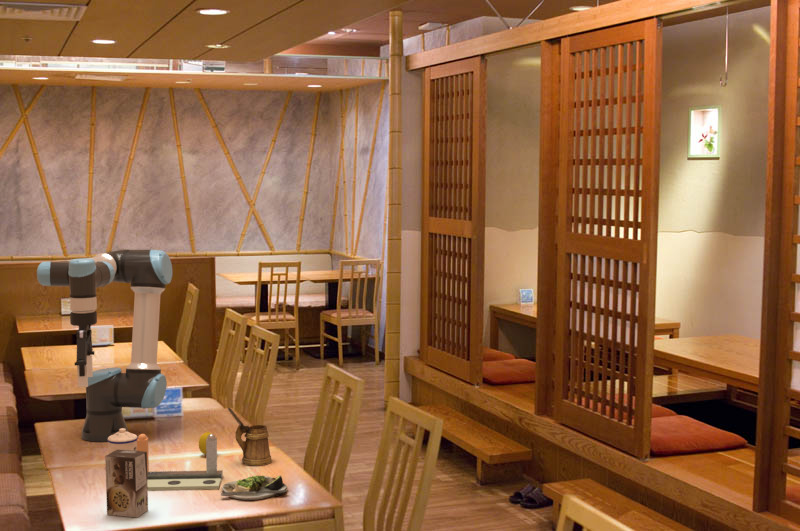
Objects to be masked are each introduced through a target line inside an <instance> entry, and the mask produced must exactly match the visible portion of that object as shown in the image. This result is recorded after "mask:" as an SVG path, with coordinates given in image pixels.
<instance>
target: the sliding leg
mask: <svg viewBox="0 0 800 531" xmlns="http://www.w3.org/2000/svg"><path fill="white" fill-rule="evenodd" d="M137 437H138V439H137V451H145V452H147V473H148V472H150V470H149V469H150V468H149V467H150V465H149V464H150V463H149V462H150V461H149V460H150V458H149V437H147V435H146V434H145V433H140V434H138V436H137Z"/></svg>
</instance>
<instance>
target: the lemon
mask: <svg viewBox="0 0 800 531" xmlns="http://www.w3.org/2000/svg"><path fill="white" fill-rule="evenodd" d="M209 434H213V433H212V432H209V431H205V432H204V433H202V434H201V435H200V437H199V440H198V447H199V448H198V449H199V451H200V452H201V453H202V454H203V455H205V456H206V440H207V437H208V435H209Z"/></svg>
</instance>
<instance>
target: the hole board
mask: <svg viewBox="0 0 800 531" xmlns="http://www.w3.org/2000/svg"><path fill="white" fill-rule="evenodd" d="M221 483H222V480H221V478H212V479H156V480H147V487H148V492H150V490H151V492H152V491H153V492H154V491H188V490H189V491H193V490H195V491H196V490H197V491H199V490H201V491H202V490H219V489H220V486H221Z"/></svg>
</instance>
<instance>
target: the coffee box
mask: <svg viewBox="0 0 800 531" xmlns="http://www.w3.org/2000/svg"><path fill="white" fill-rule="evenodd" d="M104 458H105V461H104V462H105V463H104V464H105V465H104V466H105V487H106V488H105V489H106V515H107V514H108V515H107V516H116V515H117V516H118V517H128V518H129V517H130V518H138V517H140V516H141V515H143V514H145V513H146V512H148V511H149V498H148V497H149V496H148V494H149V493H148V492H149V491H148V487H147V452H145V451H132V450H115V451H113V452H112V453H110V454H108V453H107V454H106V455H104Z"/></svg>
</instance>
